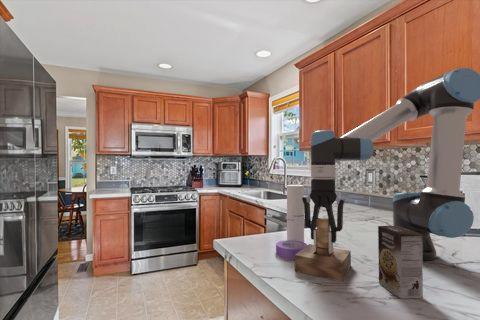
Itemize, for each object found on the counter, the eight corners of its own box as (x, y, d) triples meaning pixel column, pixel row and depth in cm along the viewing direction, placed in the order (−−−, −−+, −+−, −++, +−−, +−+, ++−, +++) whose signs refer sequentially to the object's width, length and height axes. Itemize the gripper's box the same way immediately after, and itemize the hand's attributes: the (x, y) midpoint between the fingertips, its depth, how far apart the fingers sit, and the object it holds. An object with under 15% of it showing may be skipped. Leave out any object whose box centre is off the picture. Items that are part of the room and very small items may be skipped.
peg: (331, 261, 85) (331, 218, 85) (328, 265, 81) (328, 220, 81) (319, 259, 87) (318, 217, 87) (315, 263, 83) (315, 219, 84)
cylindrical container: (304, 247, 106) (304, 186, 106) (286, 246, 107) (286, 185, 108) (303, 242, 113) (303, 184, 113) (287, 241, 114) (287, 184, 115)
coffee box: (377, 283, 73) (376, 225, 74) (399, 282, 74) (398, 225, 74) (400, 299, 64) (399, 233, 65) (424, 298, 65) (423, 233, 65)
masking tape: (273, 257, 95) (273, 247, 95) (279, 248, 106) (279, 238, 106) (306, 261, 91) (306, 250, 91) (309, 251, 102) (308, 241, 102)
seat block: (350, 266, 86) (350, 250, 86) (341, 281, 74) (341, 263, 74) (309, 258, 94) (309, 244, 94) (294, 271, 82) (294, 254, 82)
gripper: (293, 178, 86) (294, 249, 86) (348, 179, 77) (349, 259, 76) (301, 177, 93) (301, 243, 92) (353, 178, 83) (354, 252, 83)
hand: (323, 250), depth 84 cm, fingers closed on peg, 4 cm apart
